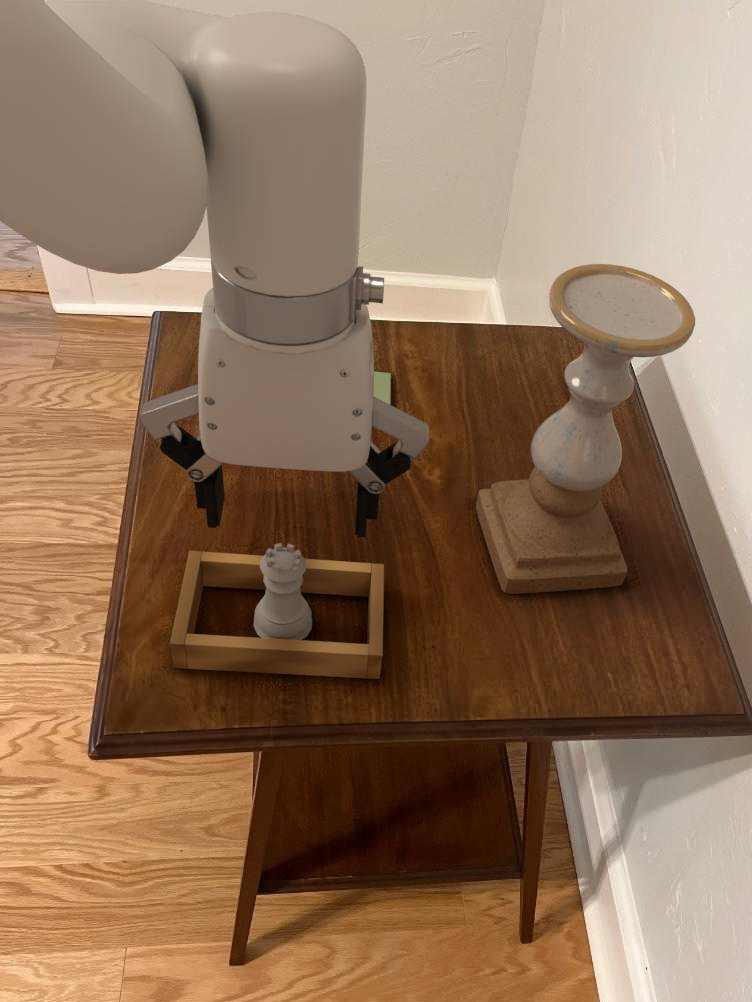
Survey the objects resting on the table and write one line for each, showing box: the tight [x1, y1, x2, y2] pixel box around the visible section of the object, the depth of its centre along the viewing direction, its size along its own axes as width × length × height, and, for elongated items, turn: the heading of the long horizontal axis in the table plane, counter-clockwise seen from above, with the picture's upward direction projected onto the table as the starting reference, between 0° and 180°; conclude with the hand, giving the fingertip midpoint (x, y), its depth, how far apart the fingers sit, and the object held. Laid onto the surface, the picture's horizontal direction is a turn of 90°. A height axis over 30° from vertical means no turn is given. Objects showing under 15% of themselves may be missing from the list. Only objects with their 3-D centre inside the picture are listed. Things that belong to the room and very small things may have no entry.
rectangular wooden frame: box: [169, 550, 385, 680], centre depth 69 cm, size 15×9×3 cm, turn 92°
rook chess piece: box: [253, 542, 313, 640], centre depth 67 cm, size 4×4×8 cm
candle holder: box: [475, 263, 696, 595], centre depth 71 cm, size 11×11×24 cm
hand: (289, 517), depth 61 cm, fingers open, 9 cm apart
